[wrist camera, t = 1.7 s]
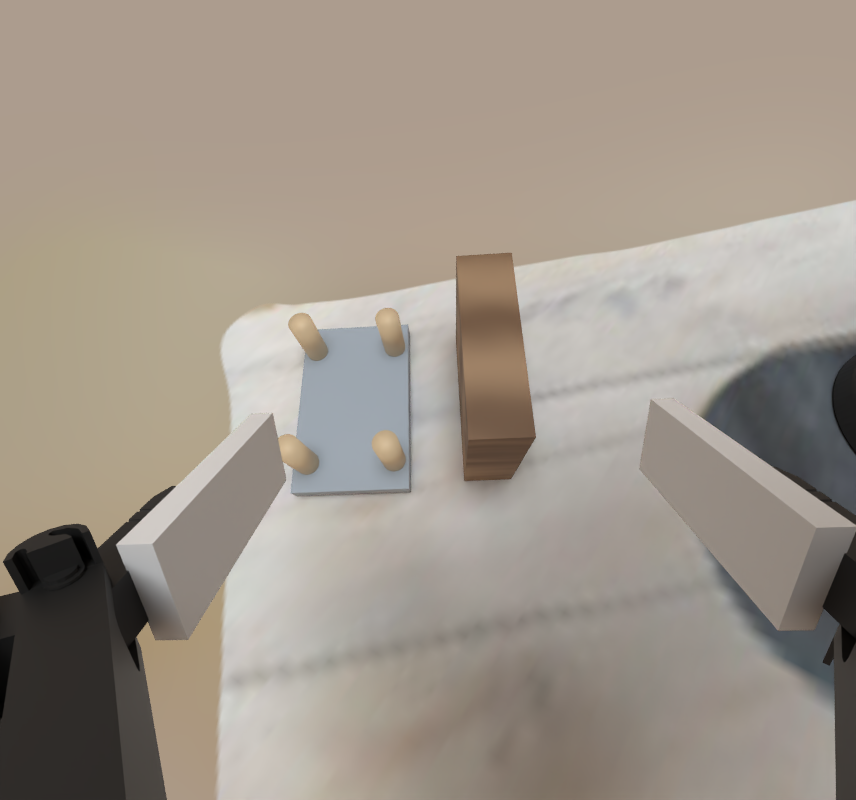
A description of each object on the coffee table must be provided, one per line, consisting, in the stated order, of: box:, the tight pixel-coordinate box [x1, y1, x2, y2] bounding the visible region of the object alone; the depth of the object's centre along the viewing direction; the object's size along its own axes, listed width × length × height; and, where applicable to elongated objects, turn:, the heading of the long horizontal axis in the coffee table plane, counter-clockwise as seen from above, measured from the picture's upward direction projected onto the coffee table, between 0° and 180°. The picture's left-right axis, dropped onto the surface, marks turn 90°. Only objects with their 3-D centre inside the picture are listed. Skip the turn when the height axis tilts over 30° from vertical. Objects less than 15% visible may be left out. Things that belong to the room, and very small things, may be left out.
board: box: [456, 253, 536, 481], centre depth 33 cm, size 14×4×12 cm, turn 1°
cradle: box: [278, 308, 411, 496], centre depth 36 cm, size 16×10×6 cm, turn 1°
